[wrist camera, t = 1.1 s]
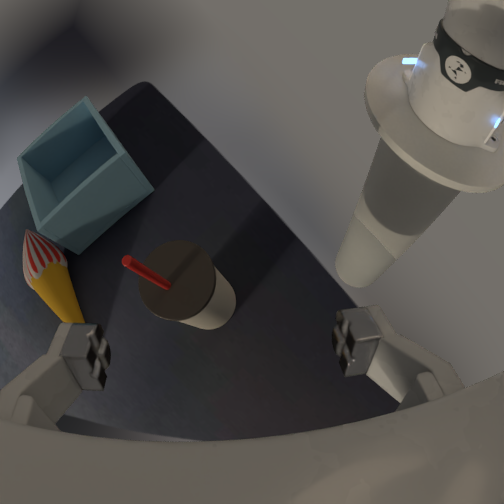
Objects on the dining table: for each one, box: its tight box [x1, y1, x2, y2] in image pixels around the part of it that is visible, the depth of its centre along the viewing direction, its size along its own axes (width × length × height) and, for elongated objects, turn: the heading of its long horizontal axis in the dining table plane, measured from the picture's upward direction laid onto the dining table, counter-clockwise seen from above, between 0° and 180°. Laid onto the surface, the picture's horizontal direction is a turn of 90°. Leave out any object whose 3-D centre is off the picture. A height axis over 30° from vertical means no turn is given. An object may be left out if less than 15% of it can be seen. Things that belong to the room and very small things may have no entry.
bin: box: [17, 96, 155, 255], centre depth 37 cm, size 14×16×9 cm
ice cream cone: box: [23, 229, 85, 323], centre depth 35 cm, size 6×6×20 cm
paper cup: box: [122, 240, 236, 329], centre depth 26 cm, size 6×6×17 cm
